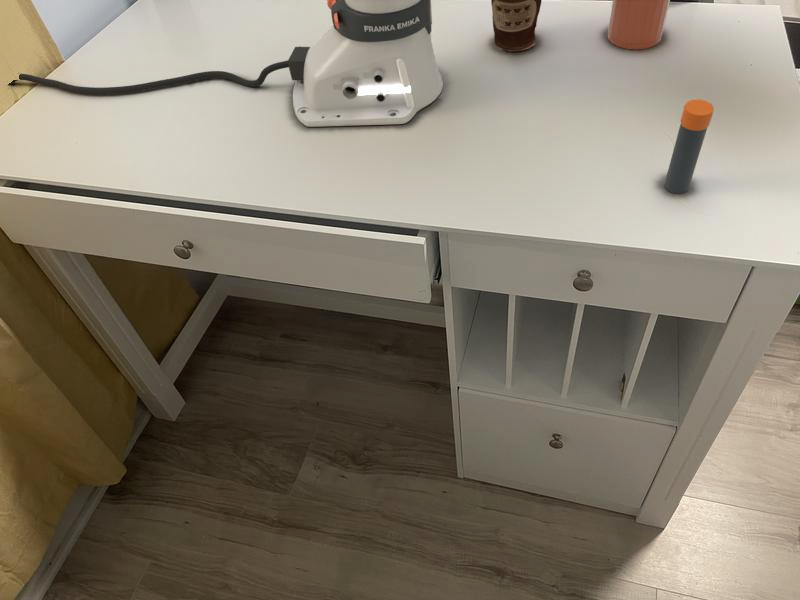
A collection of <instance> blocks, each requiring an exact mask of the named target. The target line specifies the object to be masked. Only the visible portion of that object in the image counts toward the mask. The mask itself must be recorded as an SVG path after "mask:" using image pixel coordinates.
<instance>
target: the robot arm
mask: <svg viewBox="0 0 800 600" xmlns="http://www.w3.org/2000/svg"><path fill="white" fill-rule="evenodd" d="M326 4H327V5H326V6H327V7H328V9H329V10H330V13H331V15H330V16H331V20H332V25H331V26H330V27H329V29H328V30H327V31H325V32H324V33H323V35H321V36H320V37H319V38H318V39H317V40H316V41H315V42H313V44H312V45H311V46H294V48H293V51H292V52H291V54H290V55H289V58H288V59H287V60H283V61H279V62H275V63H272V64H269V65H267V66H266V67H264V68H263V69H262V71H260V74H259V75H258V77H257V78H256V79H254V80H249V79H246V78H243V77H241V76H238V75H237V74H234V73H232V72H228V71H223V70H208V71H202V72H195V73H191V74H187V75H186V74H185V75H182V76H177V77H171V78H166V79H165V78H164V79H160V80H154V81H150V82H145V83H138V84H131V85H123V86H110V87H109V86H107V87H105V86H103V87H92V86H91V87H90V86H78V85H72V84H68V83H66V82H63V81H59V80H56V79H52V78H44V77H40V76H35V75H32V74H28V73H19V74H20V75H19V79H20V80H13V81H12V82H11V83H9V84H8V85H7V86H9V87H10V86H13V85H15V84H16V83H17V82H18V81H26V82H31V83H35V84H39V85H44V86H50V87H55V88H58V89H61V90H65V91H68V92H72V93H77V94H87V95H88V94H89V95H114V94H115V95H116V94H127V93H128V94H129V93H134V92H135V93H136V92H141V91H146V90H153V89H157V88H164V87H169V86H174V85H179V84H184V83H185V84H186V83H189V82H194V81H199V80H205V79H215V78H216V79H217V78H218V79H226V80H229V81H232V82H234V83H237V84H239V85H241V86H245V87H247V88H248V87H249V88H257V87H260V86H261V85H263V83H264V82H265V80H266V78H267V77H268V75H269V74H271V73H273V72H276V71H278V70H282V69H286V68H288V69H289V75H290V78H291V81H296V82H295V83H294V87H293V90H292V104H293V105H292V106H293V110H294V114H295V117H296V118H297V119H298V121H299V122H300V123H301V124H302V125H304V126H305V127H312V128H313V127H317V128H318V127H343V126H344V127H345V126H347V127H348V126H349V127H350V126H378V125H379V126H380V125H404V124H406V123H408V122H410V120H412V119H413V118H414V116H415V115H416V114H417V113H418V112H419V111H421V110H422V109H424V108H426V107H427V106H429V105H430V104H432V103H433V102H434V101H435V100H436V99H437V98H438V97H439V96H440V94H441V93H442V91H443V88H444V81H443V77H442V75H441V73H440V69H439V67H438V62H437V60H436V55H435V51H434V47H433V46H434V45H433V41H432V35H431V34H432V25H433V10H432V8H433V7H432V0H326Z"/></svg>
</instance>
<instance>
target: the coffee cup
mask: <svg viewBox="0 0 800 600" xmlns="http://www.w3.org/2000/svg"><path fill="white" fill-rule="evenodd" d="M490 1H491V3H490V4H491V13H492V27H493V34H494V35H493V36H494V38H493V39H494V45H495V46H496V47H497V48H498V49H499V50H502V51H507V52H520V51H525V50H528V49H530V48H532V47H534V46H535V45H536V40H537V38H536V28H537V26H538V25H537V24H538V17H539V14H540V10H541V6H542V0H490Z"/></svg>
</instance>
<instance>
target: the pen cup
mask: <svg viewBox="0 0 800 600" xmlns="http://www.w3.org/2000/svg"><path fill="white" fill-rule="evenodd" d="M611 1H612V2H611V9H610V15H609V22H608V28H607V39H608V41H609V42H610V43H611V44H613V45H615V46H616V47H618V48H622V49H625V50H626V49H627V50H645V49H650V48H652V47H655V46H657V45H658V44H659V43H660V42H661V40H662V36H663V34H664V29H665V25H666V19H667V15H668V10H669V6H670V2H671V0H611Z"/></svg>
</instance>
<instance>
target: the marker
mask: <svg viewBox="0 0 800 600" xmlns="http://www.w3.org/2000/svg"><path fill="white" fill-rule="evenodd" d="M714 111H715V107H714V105H713V104H712V103H711V102H709V101H707V100H705V99H691V100H688V101H686V103H685V104H684V105H683V110H682V113H681V117H680V123H679V124H680V126H679V128H678V132H677V135H676V138H675V142H674V147H673V151H672V153H671V158H670V161H669V166H668V170H667V173H666V176H665V180H664V185H663V186H664V188H665V189H666V191H668V193H669V192H670V193H672V194H676V195H677V194H678V195H679V194H684V193H687V191H688V190H689V189H690V185H691V183H692V180H693V175H694V173H695V170H696V166H697V163H698V159H699V156H700V154H701V150H702V146H703V144H704V140H705V137H706V134H707V130H708V128H709V126H710V124H711V122H712V121H711V120H712V117H713V114H714Z"/></svg>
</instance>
